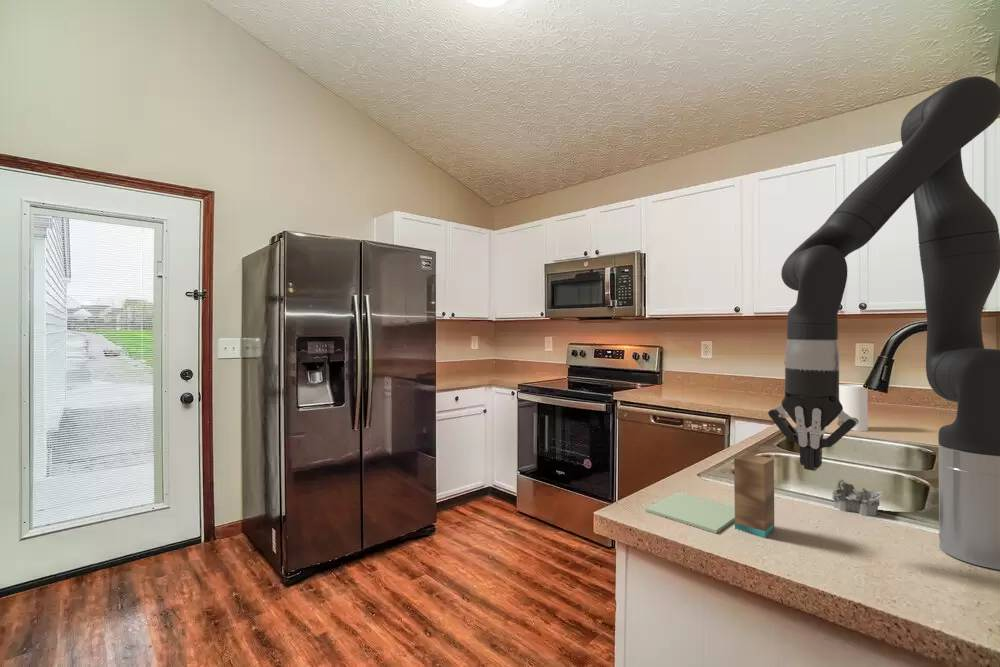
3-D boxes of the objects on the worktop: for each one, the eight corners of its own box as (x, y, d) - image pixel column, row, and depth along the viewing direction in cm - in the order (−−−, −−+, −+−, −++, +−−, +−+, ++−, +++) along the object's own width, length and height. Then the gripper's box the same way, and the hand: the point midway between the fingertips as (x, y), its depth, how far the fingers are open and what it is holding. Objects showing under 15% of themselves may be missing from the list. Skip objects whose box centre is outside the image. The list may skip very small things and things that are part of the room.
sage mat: (745, 512, 91) (745, 509, 91) (716, 533, 81) (716, 530, 81) (678, 494, 101) (678, 491, 101) (645, 511, 92) (645, 508, 92)
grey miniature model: (840, 496, 100) (840, 477, 100) (884, 505, 94) (884, 486, 94) (828, 509, 92) (828, 489, 92) (875, 520, 87) (875, 498, 87)
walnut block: (774, 529, 83) (773, 458, 83) (764, 538, 79) (764, 464, 79) (745, 521, 86) (744, 453, 86) (734, 529, 83) (734, 458, 83)
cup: (842, 425, 171) (841, 383, 171) (869, 428, 165) (869, 385, 165) (837, 428, 166) (836, 385, 166) (865, 432, 160) (865, 387, 160)
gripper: (865, 368, 74) (864, 474, 74) (775, 363, 84) (774, 456, 84) (855, 370, 69) (854, 484, 69) (760, 365, 79) (759, 464, 79)
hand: (810, 469), depth 76 cm, fingers closed
